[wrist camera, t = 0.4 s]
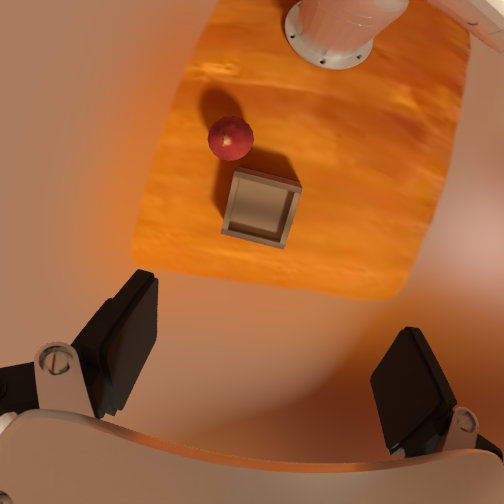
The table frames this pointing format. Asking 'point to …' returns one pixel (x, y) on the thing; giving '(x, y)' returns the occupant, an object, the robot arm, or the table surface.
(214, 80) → the table surface
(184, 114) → the table surface
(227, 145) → the onion
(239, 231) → the base
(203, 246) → the table surface
